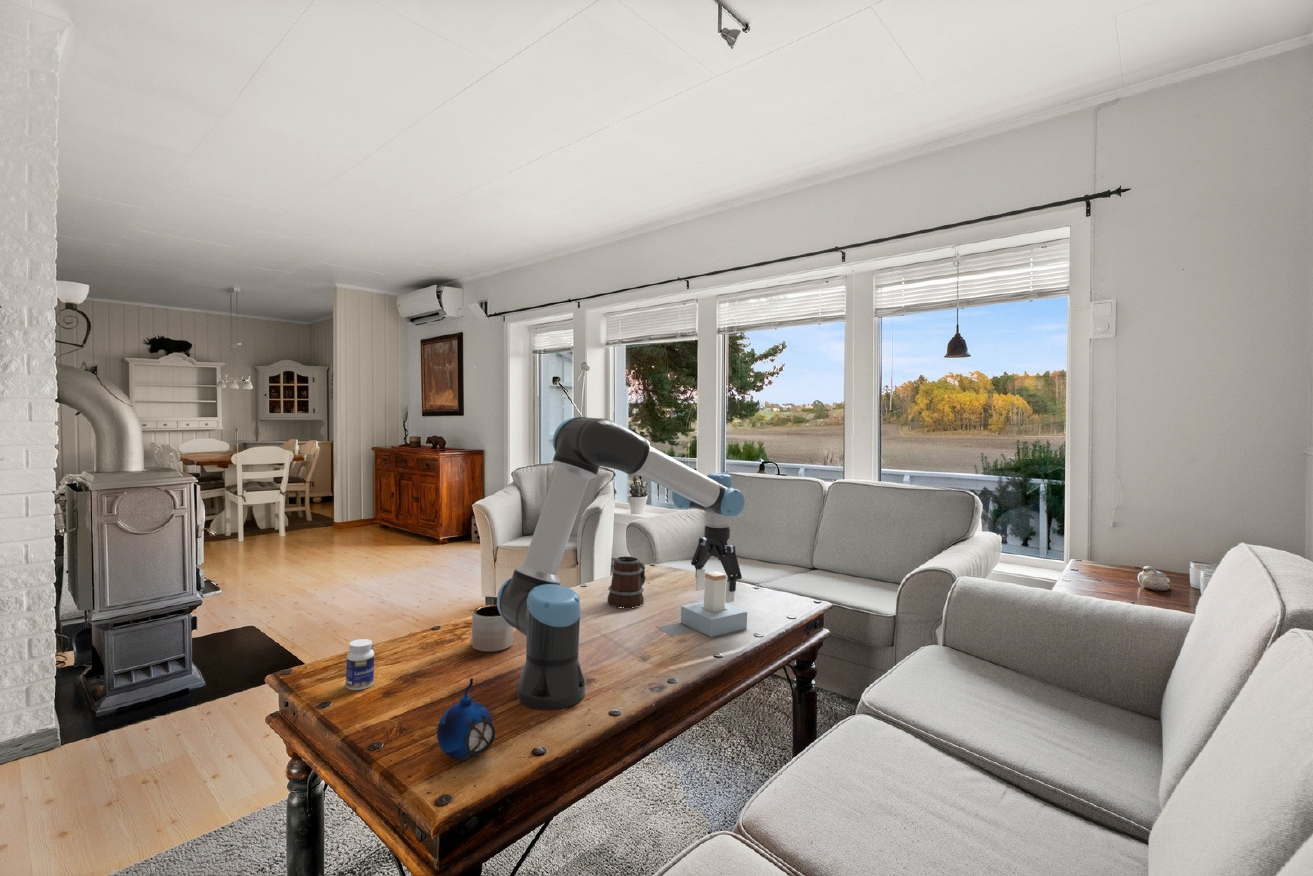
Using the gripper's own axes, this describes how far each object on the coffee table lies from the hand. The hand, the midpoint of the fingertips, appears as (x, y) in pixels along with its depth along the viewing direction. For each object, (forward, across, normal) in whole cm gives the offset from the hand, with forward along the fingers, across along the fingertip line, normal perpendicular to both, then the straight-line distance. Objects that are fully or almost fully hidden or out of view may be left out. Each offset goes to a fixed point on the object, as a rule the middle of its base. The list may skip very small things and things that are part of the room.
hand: (714, 596), depth 185 cm
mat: (+10, +3, +12) cm, 16 cm away
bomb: (+10, -29, +84) cm, 90 cm away
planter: (+10, +20, +61) cm, 65 cm away
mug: (+10, +34, +8) cm, 36 cm away
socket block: (+10, 0, 0) cm, 10 cm away
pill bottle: (+10, +12, +95) cm, 96 cm away
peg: (+7, 0, 0) cm, 7 cm away
